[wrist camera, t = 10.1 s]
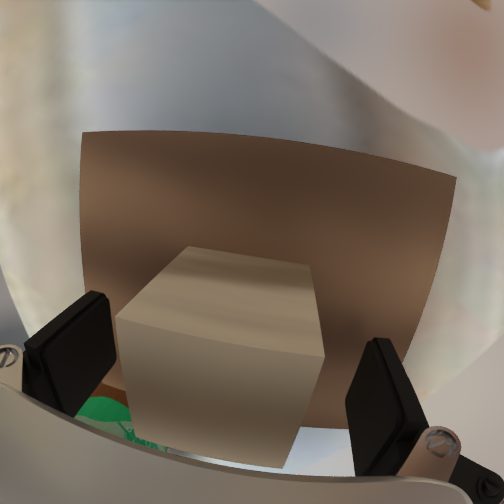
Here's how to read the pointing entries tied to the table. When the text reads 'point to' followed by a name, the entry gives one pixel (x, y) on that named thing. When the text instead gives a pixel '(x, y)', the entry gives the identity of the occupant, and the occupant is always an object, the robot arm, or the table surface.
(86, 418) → the food container
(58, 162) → the table surface
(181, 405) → the birch block
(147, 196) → the walnut box
